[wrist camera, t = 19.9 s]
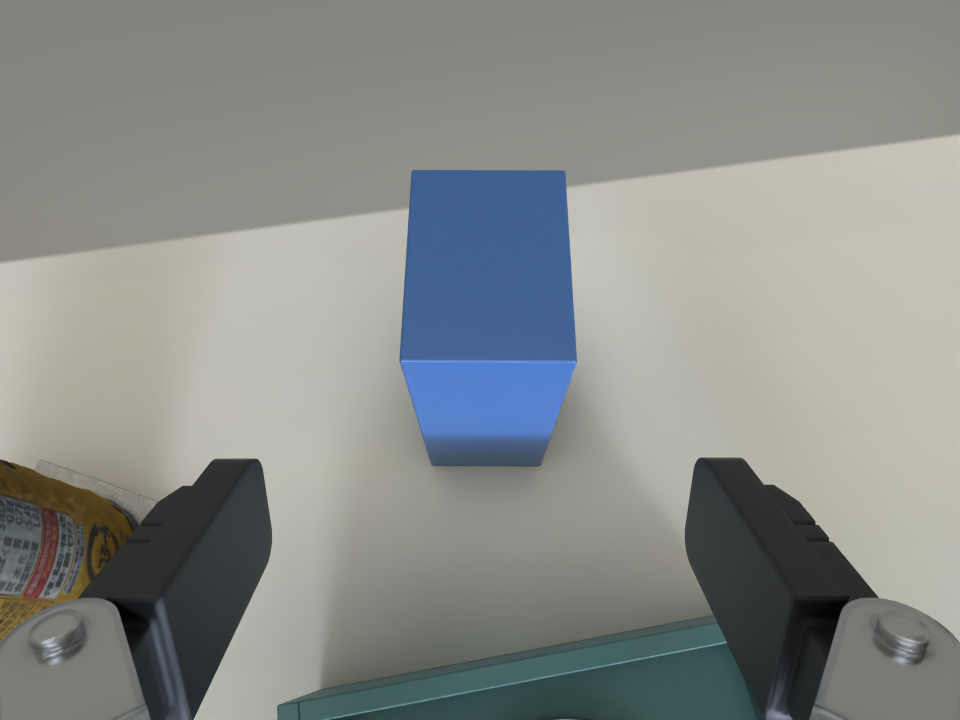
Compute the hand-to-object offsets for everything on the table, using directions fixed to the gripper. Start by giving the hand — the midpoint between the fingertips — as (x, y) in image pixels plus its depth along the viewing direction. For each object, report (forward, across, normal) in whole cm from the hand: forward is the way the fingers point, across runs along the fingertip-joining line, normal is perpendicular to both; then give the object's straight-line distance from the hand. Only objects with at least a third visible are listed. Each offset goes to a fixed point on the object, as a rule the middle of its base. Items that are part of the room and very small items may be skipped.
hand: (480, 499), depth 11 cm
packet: (+14, 0, -4) cm, 15 cm away
